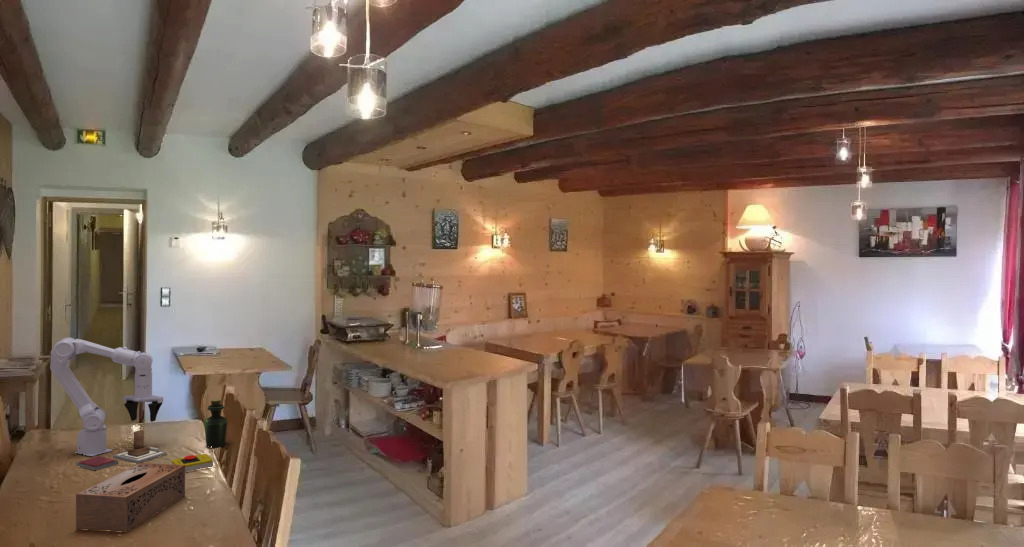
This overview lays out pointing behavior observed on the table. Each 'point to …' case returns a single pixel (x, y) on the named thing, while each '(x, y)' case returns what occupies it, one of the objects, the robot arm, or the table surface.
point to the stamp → (138, 445)
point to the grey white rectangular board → (152, 454)
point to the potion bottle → (215, 425)
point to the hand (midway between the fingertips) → (143, 420)
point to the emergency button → (194, 462)
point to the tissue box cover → (129, 497)
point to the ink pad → (97, 463)
